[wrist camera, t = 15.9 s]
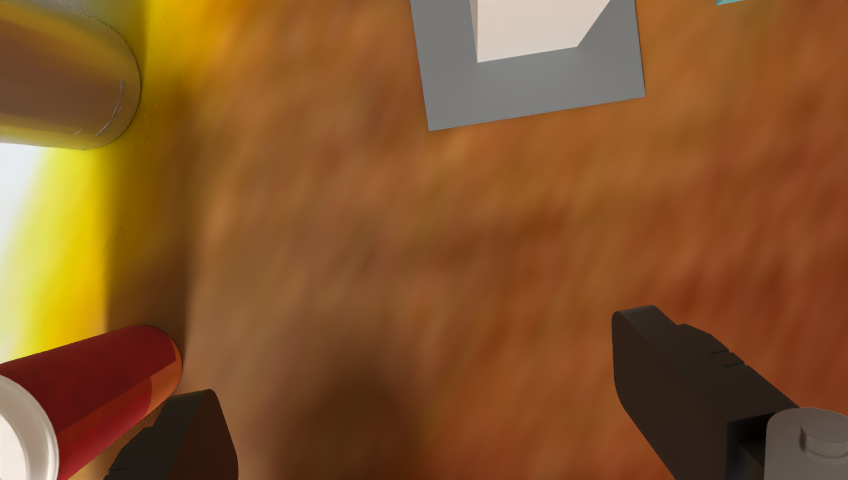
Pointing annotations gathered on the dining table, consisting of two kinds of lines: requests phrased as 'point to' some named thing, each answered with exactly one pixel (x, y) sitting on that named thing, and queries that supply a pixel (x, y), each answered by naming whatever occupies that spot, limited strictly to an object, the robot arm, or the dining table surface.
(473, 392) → the dining table surface
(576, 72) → the mat
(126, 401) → the coffee cup
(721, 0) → the block
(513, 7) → the cream rectangular box
